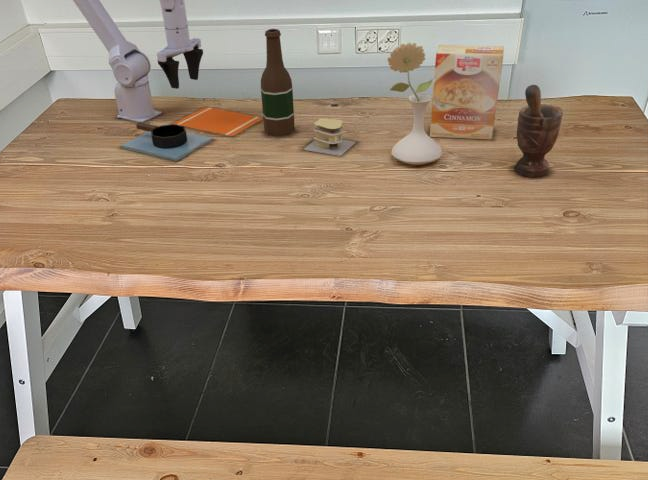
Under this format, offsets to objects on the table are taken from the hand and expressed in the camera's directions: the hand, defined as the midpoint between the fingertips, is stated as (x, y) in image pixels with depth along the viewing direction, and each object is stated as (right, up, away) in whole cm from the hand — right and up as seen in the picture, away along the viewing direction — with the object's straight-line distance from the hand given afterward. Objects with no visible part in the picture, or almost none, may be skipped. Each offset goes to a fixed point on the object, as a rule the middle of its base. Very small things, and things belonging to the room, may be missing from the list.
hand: (184, 83), depth 177 cm
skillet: (-5, -17, -7) cm, 19 cm away
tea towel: (+8, -9, +4) cm, 13 cm away
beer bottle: (+25, -14, -4) cm, 29 cm away
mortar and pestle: (+80, -32, -29) cm, 91 cm away
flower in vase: (+56, -26, -20) cm, 65 cm away
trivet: (-3, -18, -7) cm, 20 cm away
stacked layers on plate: (+37, -20, -12) cm, 44 cm away
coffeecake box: (+70, -16, -10) cm, 72 cm away
